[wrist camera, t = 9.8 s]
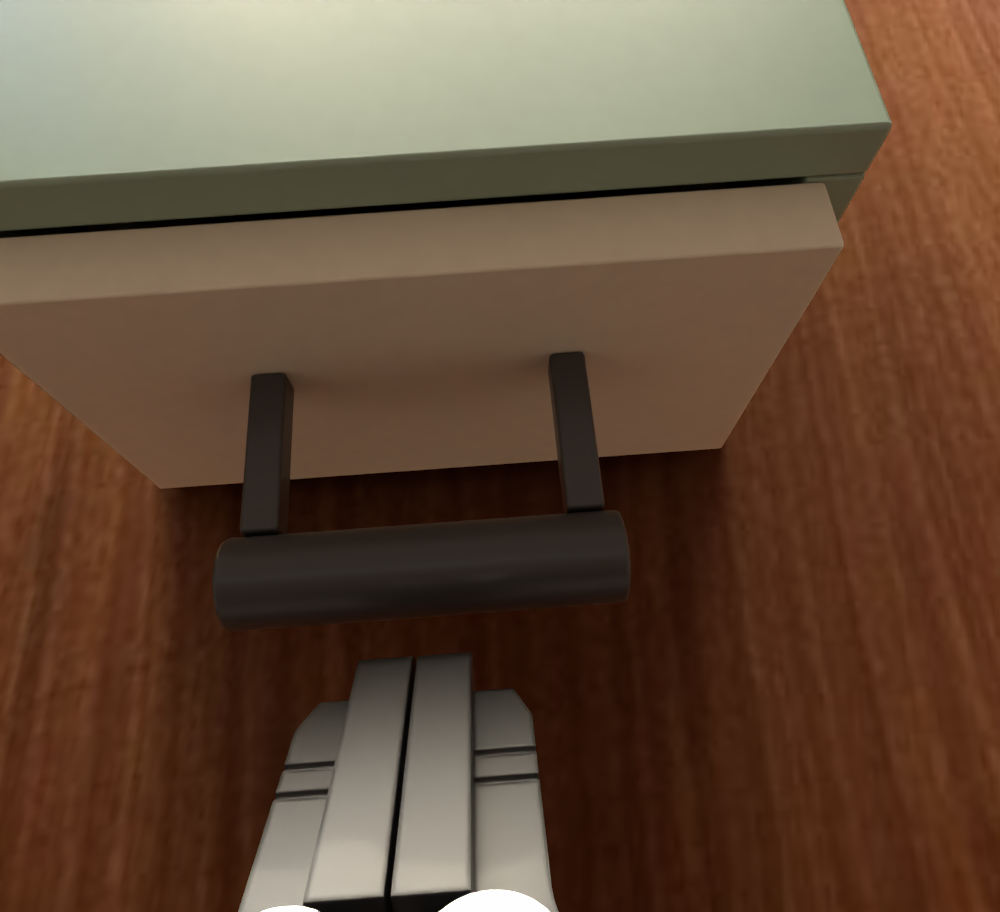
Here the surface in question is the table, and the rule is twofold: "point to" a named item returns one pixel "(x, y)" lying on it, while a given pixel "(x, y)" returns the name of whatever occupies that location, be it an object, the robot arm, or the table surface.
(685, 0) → the cabinet
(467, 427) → the drawer
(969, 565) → the table surface
